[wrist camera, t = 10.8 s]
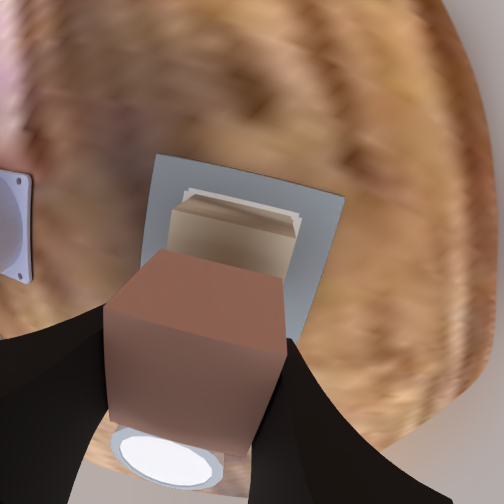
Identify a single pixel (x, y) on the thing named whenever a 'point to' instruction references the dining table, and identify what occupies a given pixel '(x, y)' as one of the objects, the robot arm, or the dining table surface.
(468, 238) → the dining table surface
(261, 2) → the dining table surface
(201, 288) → the top block
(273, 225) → the base block
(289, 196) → the base plate
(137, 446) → the grey cylinder
